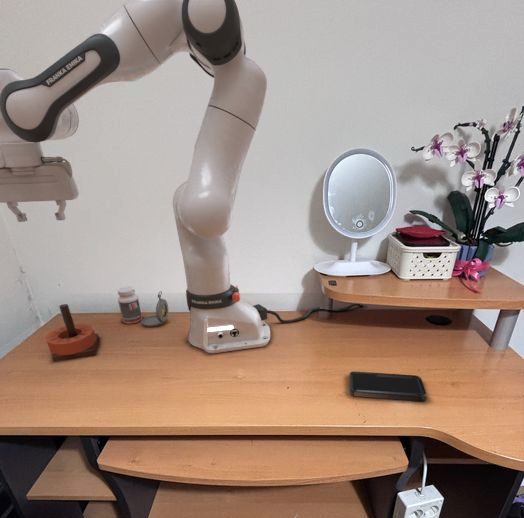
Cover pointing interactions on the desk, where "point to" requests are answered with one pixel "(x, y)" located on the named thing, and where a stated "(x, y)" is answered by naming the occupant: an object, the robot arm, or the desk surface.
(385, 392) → the phone
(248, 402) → the desk surface
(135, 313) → the pill bottle
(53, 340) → the ring
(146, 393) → the desk surface
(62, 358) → the peg on square base
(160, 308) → the pocket watch
